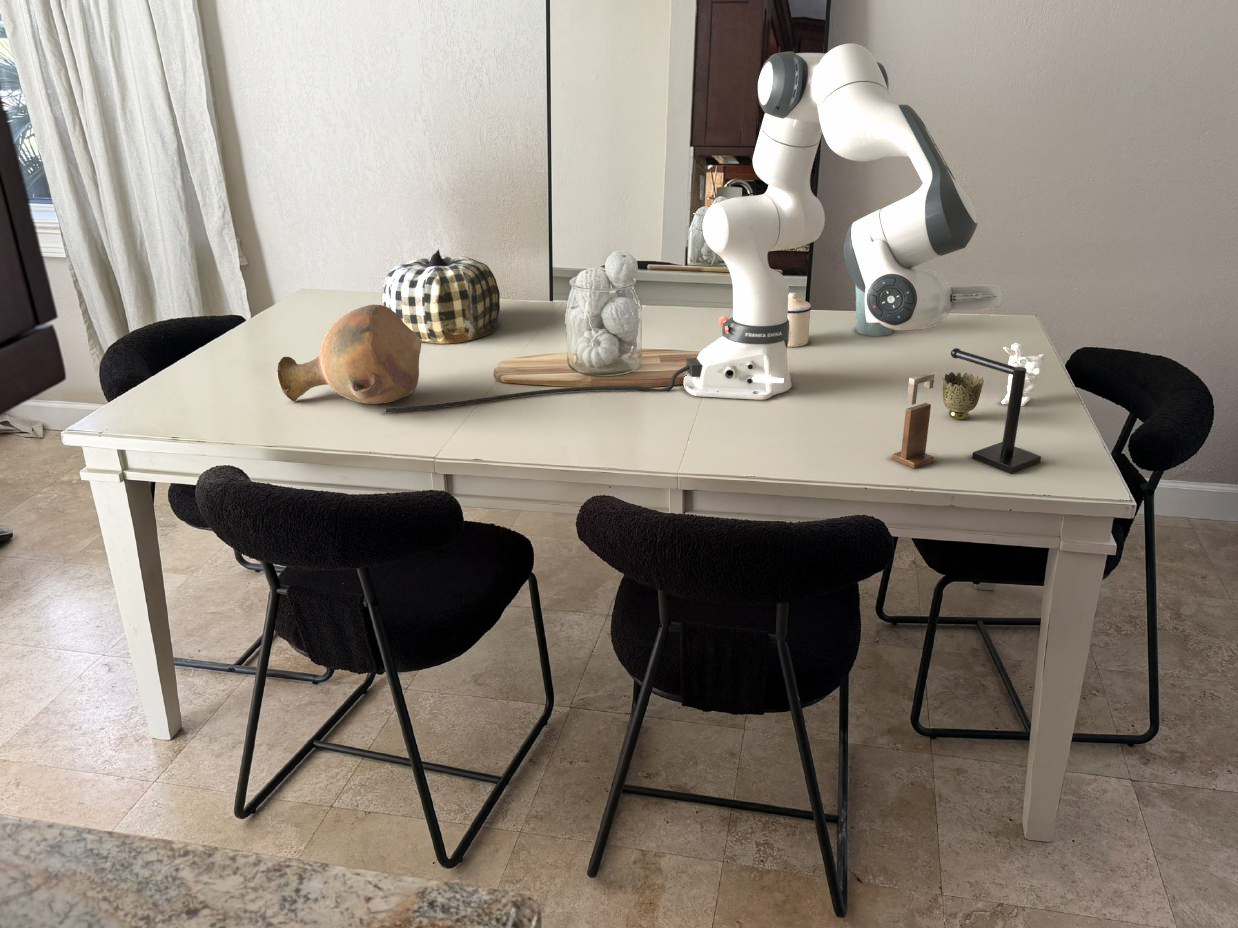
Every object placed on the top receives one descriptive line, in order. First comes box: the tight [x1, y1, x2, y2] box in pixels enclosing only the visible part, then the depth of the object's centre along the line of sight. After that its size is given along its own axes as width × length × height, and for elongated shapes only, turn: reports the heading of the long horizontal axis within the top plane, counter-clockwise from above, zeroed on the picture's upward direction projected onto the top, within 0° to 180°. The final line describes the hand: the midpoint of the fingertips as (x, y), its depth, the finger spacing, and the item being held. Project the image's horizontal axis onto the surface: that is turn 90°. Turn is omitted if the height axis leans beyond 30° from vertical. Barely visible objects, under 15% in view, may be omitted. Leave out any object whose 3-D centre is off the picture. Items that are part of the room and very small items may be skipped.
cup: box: [941, 371, 985, 421], centre depth 192 cm, size 8×7×8 cm
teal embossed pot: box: [855, 285, 894, 337], centre depth 244 cm, size 10×10×12 cm
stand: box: [950, 347, 1042, 475], centre depth 175 cm, size 8×18×17 cm, turn 34°
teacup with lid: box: [787, 292, 812, 348], centre depth 237 cm, size 12×9×12 cm
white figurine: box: [1000, 342, 1046, 407], centre depth 198 cm, size 8×7×12 cm
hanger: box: [891, 371, 935, 469], centre depth 172 cm, size 5×5×16 cm
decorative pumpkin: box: [381, 248, 501, 345], centre depth 250 cm, size 30×29×20 cm
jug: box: [276, 304, 422, 405], centre depth 203 cm, size 20×20×30 cm
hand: (943, 300), depth 165 cm, fingers open, 8 cm apart
